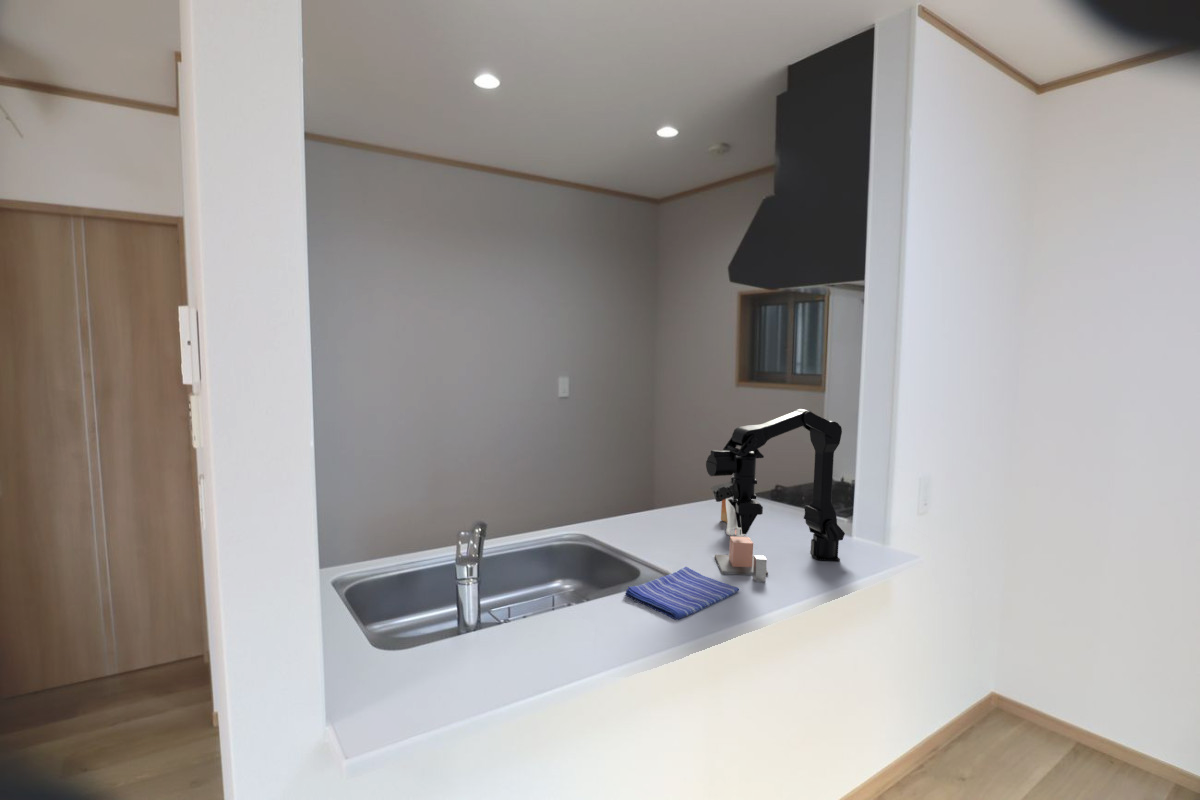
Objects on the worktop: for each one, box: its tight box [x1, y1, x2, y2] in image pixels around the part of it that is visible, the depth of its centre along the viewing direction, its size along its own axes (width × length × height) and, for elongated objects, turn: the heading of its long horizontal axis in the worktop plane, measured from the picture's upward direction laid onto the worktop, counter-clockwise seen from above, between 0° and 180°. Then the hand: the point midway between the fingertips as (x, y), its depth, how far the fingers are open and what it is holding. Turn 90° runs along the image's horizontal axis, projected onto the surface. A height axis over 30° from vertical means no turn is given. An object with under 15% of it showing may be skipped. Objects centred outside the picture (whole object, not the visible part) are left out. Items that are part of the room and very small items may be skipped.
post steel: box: [752, 554, 768, 583], centre depth 151 cm, size 3×3×6 cm
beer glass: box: [725, 497, 746, 537], centre depth 186 cm, size 7×7×15 cm
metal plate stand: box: [714, 554, 769, 576], centre depth 160 cm, size 12×12×6 cm
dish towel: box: [624, 566, 740, 620], centre depth 142 cm, size 17×24×3 cm
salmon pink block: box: [728, 536, 754, 567], centre depth 160 cm, size 5×5×7 cm
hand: (741, 530), depth 159 cm, fingers open, 5 cm apart
